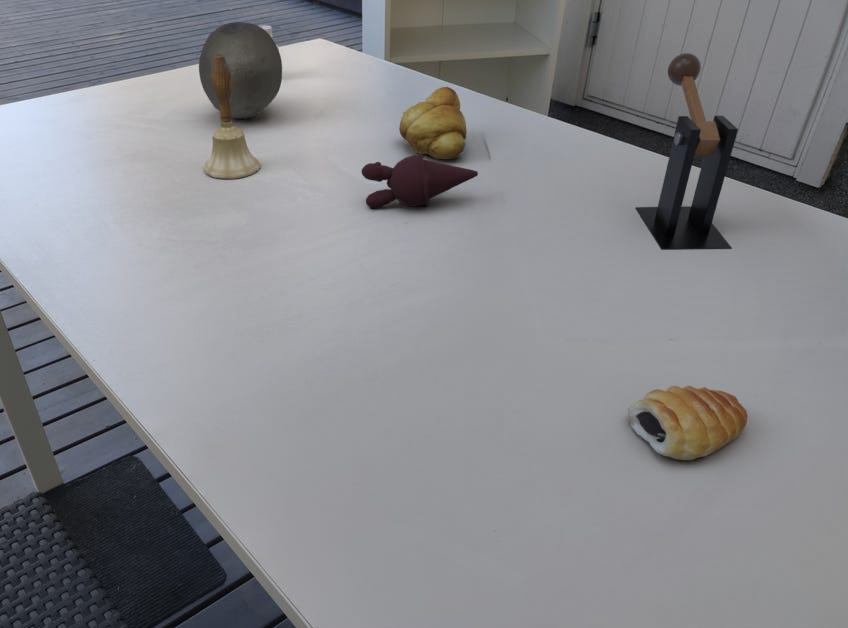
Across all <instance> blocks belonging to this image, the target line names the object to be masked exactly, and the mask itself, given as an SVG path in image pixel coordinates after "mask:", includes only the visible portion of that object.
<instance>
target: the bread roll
mask: <svg viewBox="0 0 848 628" xmlns="http://www.w3.org/2000/svg"><path fill="white" fill-rule="evenodd" d="M398 131H399V134H400V136H401V137H402V139H403V140H405V142H406V143H407V144H408V146H409V147H410V148H411V149H412V150H413V151H414V152H415V153H418V154H420V152H421V153H422V154H423V155H428V156H430V157H432V158H434V159H437V160H439V159H440V160H453V159H455V158H458V157H459V156H460V155H461V154H462V153H463V151H464V150H465V146H466V141H465V140H466V138H467V131H468V130H467V122H466V118H465V116H464V114H463V112H462V111H461V102H460V98H459V95H458V93H457V92H456V91H455V90H454V89H453V88H452V87H449V86H441V87H440V88H436V89H435V90H433V92H432V93H431V94H430V95H429V96H428V97H426V99H424V101H419V102H418V103H416V104H414V105H412V106H410V107H409V108H407V109H406V110H405V111H404V112H402V116H401V118H400V122H399V128H398Z"/></svg>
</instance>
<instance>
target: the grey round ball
mask: <svg viewBox="0 0 848 628" xmlns="http://www.w3.org/2000/svg"><path fill="white" fill-rule="evenodd" d="M259 26H260V25H257V24H255V23H250V22H241V21H233V22H228V23H224V24H222V25H220V26H219V27H217V28H216V29H215V30H214V31H212V32H211V33H210V34H209V35H208V36H207V38H206V39H205V42H204V44H203V46H202V50H201V53H200V55H199V61H198V74H199V80H200V83H201V86H202V90H203V91H204V93H205V95H206V97H207V98H208V100H209V102H210V103H211V104H212V106H213V107H214V108H215V109H216V110H217V111H218V112H220V106H219V101H218V98H217V95H216V93H215V90H214V86H213V80H212V69H213V64H214V56H215V55H216V54H223V55H224V58H225V61H226V63H227V65H228V68H229V70H230V74H231V81H232V91H231V97H230V105H231V112H232V117H233V119H240V120H241V119H242V118H243V119H249V118H253V117H255V116H258V115H259V114H261V113H262V112H263V111H264V110H265V109H266V108H268V107H269V106H270V105H271V103H272V101H274V99H275V98H276V97H277V96H278V93H279V91H280V88H281V85H282V79H283V61H282V57H281V54H280V49H279V50H278V48H277V46H278V45H277V43H276V42H275V41H274V39H273V38H272V37H271V36H270V35H269V34H268V33H267V32H266V31H265V30H264V29H263V28H261V27H259ZM276 45H277V46H276Z"/></svg>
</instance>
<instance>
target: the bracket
mask: <svg viewBox="0 0 848 628" xmlns="http://www.w3.org/2000/svg"><path fill="white" fill-rule="evenodd" d="M712 121H715V123H716V126H717V130H718V133H719V137H720V142H719V143H718V145H717V147H716V149H715V151H714V153H713V155H703V160H702V163H701V167H700V171H699V175H698V179H697V182H696V186H695V190H694V194H693V197H692V201H691V206H683V203H684V199H685V195H686V191H687V186H688V183H689V178H690V174H691V170H692V166H693V163H694V158H695V156H696V155H695V151H696V147H697V143H698V139H699V135H700V131H701V130H700V128H699V127H698V126H697V125H696V124H695V123H694V122H693V121H692V120H691V117H689V116H688V115H678V118H677V120H676V125H675V130H674V135H673V138H672V143H671V147H670V152H669V155H668V156H669V157H668V160H667V165H666V170H665V174H664V178H663V183H662V186H661V190H660V194H659V200H658V203H657V206H636V207H635V208H634V209H635V210H636V212H637V214H638V216H639V217H640V218H641V220H642V221H643V223H644V225H645V226H646V228H647V230H648V232H650V234H651V236H652V237H653V239H654V241H655V242H656V244H657V245H658V247H659V249H660V250H661V251H674V250H675V251H681V250H682V251H684V250H685V251H687V250H732V246H731V245H730V243H729V242H728V241H727V239H726V238H725V237H724V236H723V235H722V233H721V232H720V231H719V230H718V228H717V227H716V226H715V224H714V223H713V220H714V216H715V213H716V211H717V210H716V209H717V206H718V202H719V200H720V195H721V191H722V188H723V186H724V185H723V184H724V182H725V179H726V174H727V170H728V167H729V164H730V159H731V157H732V152H733V149H734V145H735V142H736V138H737V134H738V131H739V128H737V126H735V125H734V124H733V123H732V122H731V121H730V120H729V119H728V118H726V116H724V115H714V118H713V120H712Z"/></svg>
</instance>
